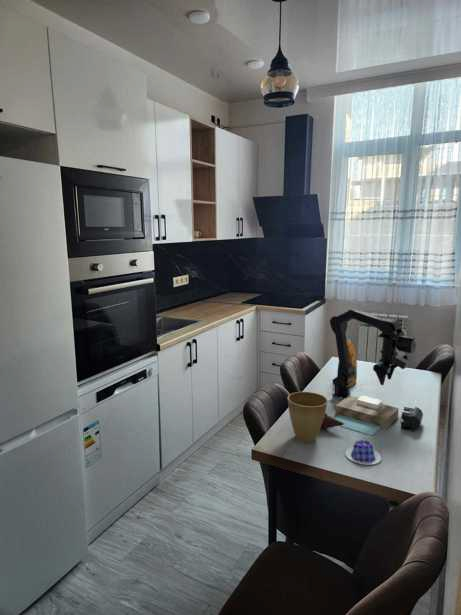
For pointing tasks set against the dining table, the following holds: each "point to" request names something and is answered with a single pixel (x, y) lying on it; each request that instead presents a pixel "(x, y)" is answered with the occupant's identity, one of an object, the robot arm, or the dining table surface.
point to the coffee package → (352, 360)
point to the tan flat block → (367, 412)
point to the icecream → (329, 422)
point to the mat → (358, 425)
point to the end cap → (411, 419)
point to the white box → (369, 402)
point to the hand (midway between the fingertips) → (385, 382)
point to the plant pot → (306, 414)
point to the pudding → (363, 453)
